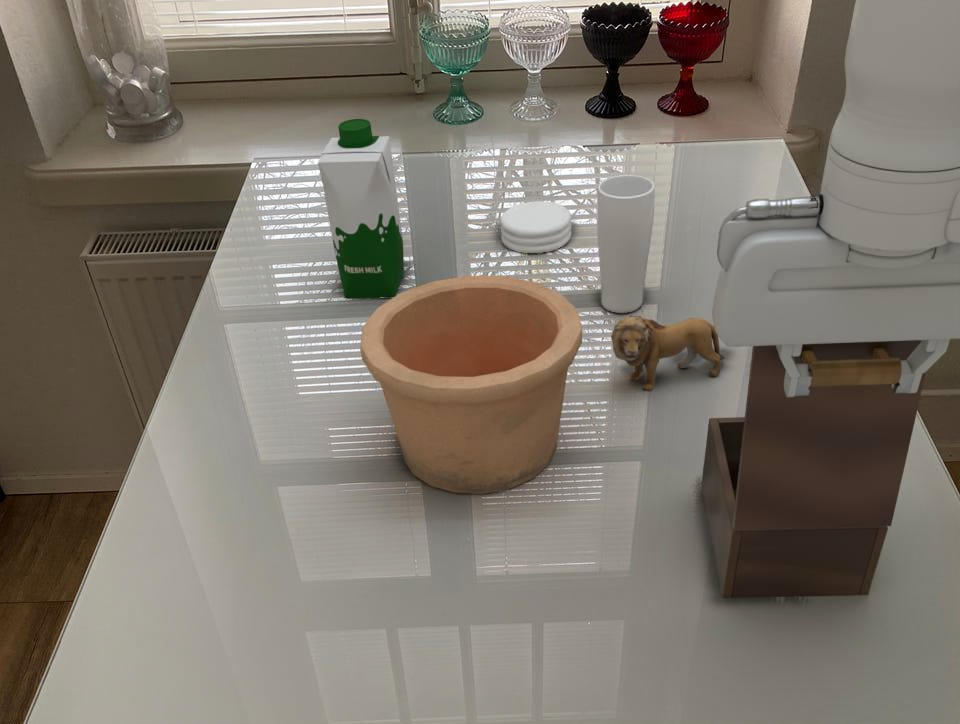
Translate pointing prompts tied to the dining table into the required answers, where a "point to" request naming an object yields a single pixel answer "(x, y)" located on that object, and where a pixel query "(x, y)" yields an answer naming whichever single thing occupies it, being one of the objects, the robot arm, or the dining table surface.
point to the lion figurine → (664, 344)
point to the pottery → (474, 377)
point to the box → (778, 538)
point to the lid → (825, 438)
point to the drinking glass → (624, 239)
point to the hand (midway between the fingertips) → (848, 390)
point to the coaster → (536, 227)
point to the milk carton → (363, 211)
